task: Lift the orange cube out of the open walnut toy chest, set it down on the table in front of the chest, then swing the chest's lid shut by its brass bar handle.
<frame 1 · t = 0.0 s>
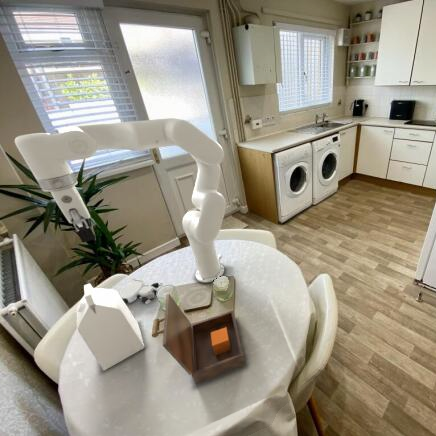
hand: (87, 234, 74), 37 cm above the table, tool pointing down, fingers open, 9 cm apart
milk: (122, 345, 81), on the table
chest: (218, 348, 79), on the table
chest lid: (171, 335, 69), point 13 cm above the table, hinge at 100.0°
robot toy: (141, 296, 100), on the table
orange cube: (222, 345, 79), point 1 cm above the table, touching chest
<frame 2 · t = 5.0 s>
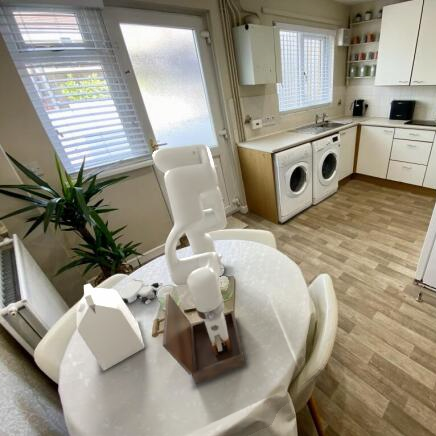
hand: (221, 344, 78), 2 cm above the table, tool pointing down, fingers closed on orange cube, 5 cm apart
orange cube: (222, 345, 79), point 1 cm above the table, touching chest, gripper
everything else where it was.
when the fingers open (1 cm above the table, at t = 12.3 s): orange cube stays where it is, on the table.
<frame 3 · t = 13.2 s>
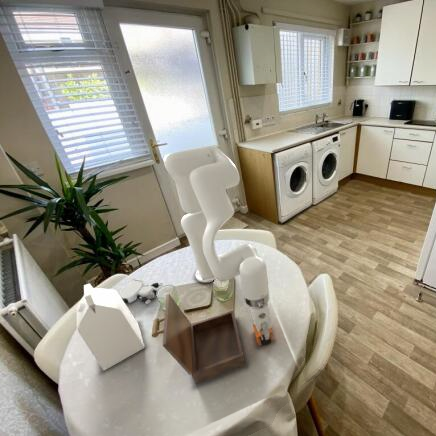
hand: (262, 330, 80), 3 cm above the table, tool pointing down, fingers open, 9 cm apart
orange cube: (263, 337, 82), on the table
everything else where it was.
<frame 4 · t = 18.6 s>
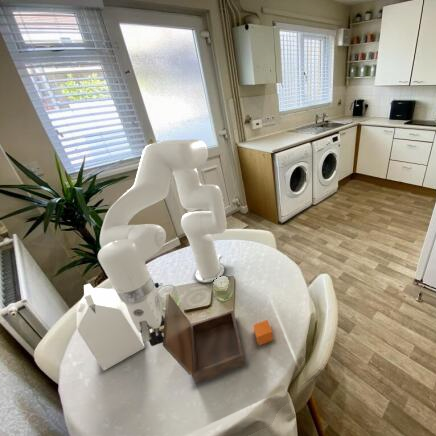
hand: (158, 333, 67), 15 cm above the table, tool pointing down, fingers closed on chest lid, 5 cm apart
chest lid: (171, 335, 69), point 13 cm above the table, hinge at 100.0°, touching gripper
everything else where it was.
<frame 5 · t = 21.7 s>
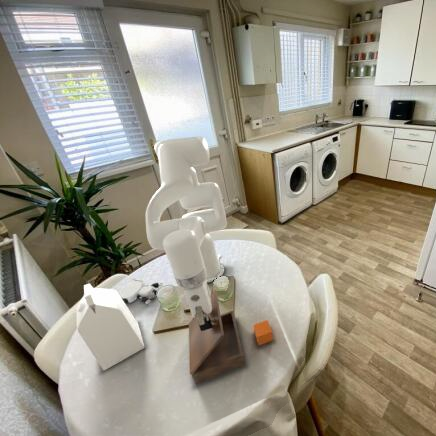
hand: (206, 320, 71), 15 cm above the table, tool pointing down, fingers closed on chest lid, 5 cm apart
chest lid: (198, 327, 72), point 13 cm above the table, hinge at 46.0°, touching gripper
everything else where it was.
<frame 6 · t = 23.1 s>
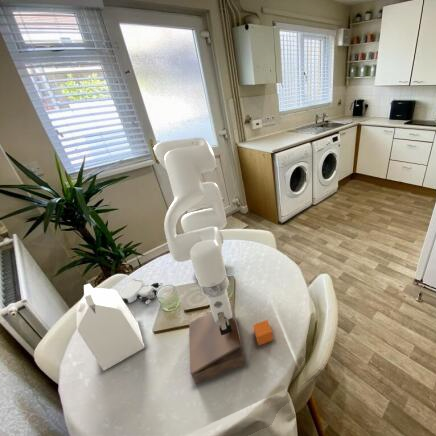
hand: (225, 324, 75), 10 cm above the table, tool pointing down, fingers closed on chest lid, 5 cm apart
chest lid: (210, 330, 74), point 10 cm above the table, hinge at 16.3°, touching gripper
everything else where it was.
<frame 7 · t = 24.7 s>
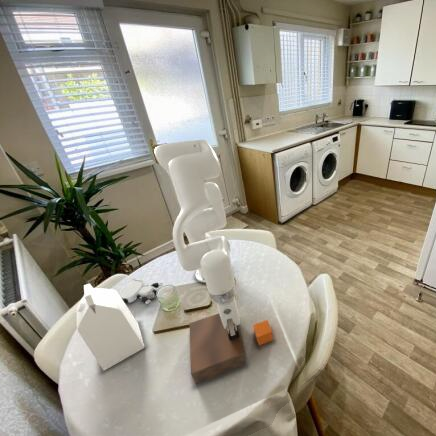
hand: (232, 330, 77), 6 cm above the table, tool pointing down, fingers closed on chest lid, 5 cm apart
chest lid: (214, 333, 75), point 8 cm above the table, hinge at -0.2°, touching chest, gripper
everything else where it was.
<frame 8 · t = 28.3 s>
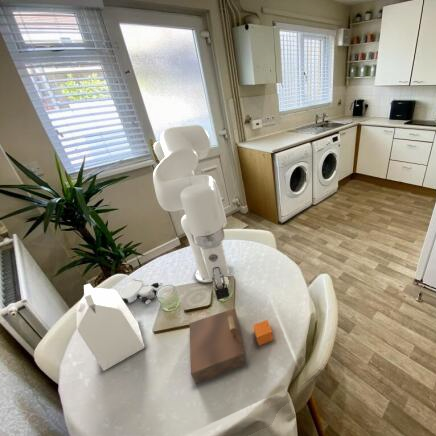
hand: (221, 285, 68), 26 cm above the table, tool pointing down, fingers open, 9 cm apart
chest lid: (214, 333, 75), point 8 cm above the table, hinge at -0.2°, touching chest
everything else where it was.
at the end: orange cube inside the target area (0.1 cm from its centre), on the table; chest lid at +0° (first picture: +100°) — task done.
